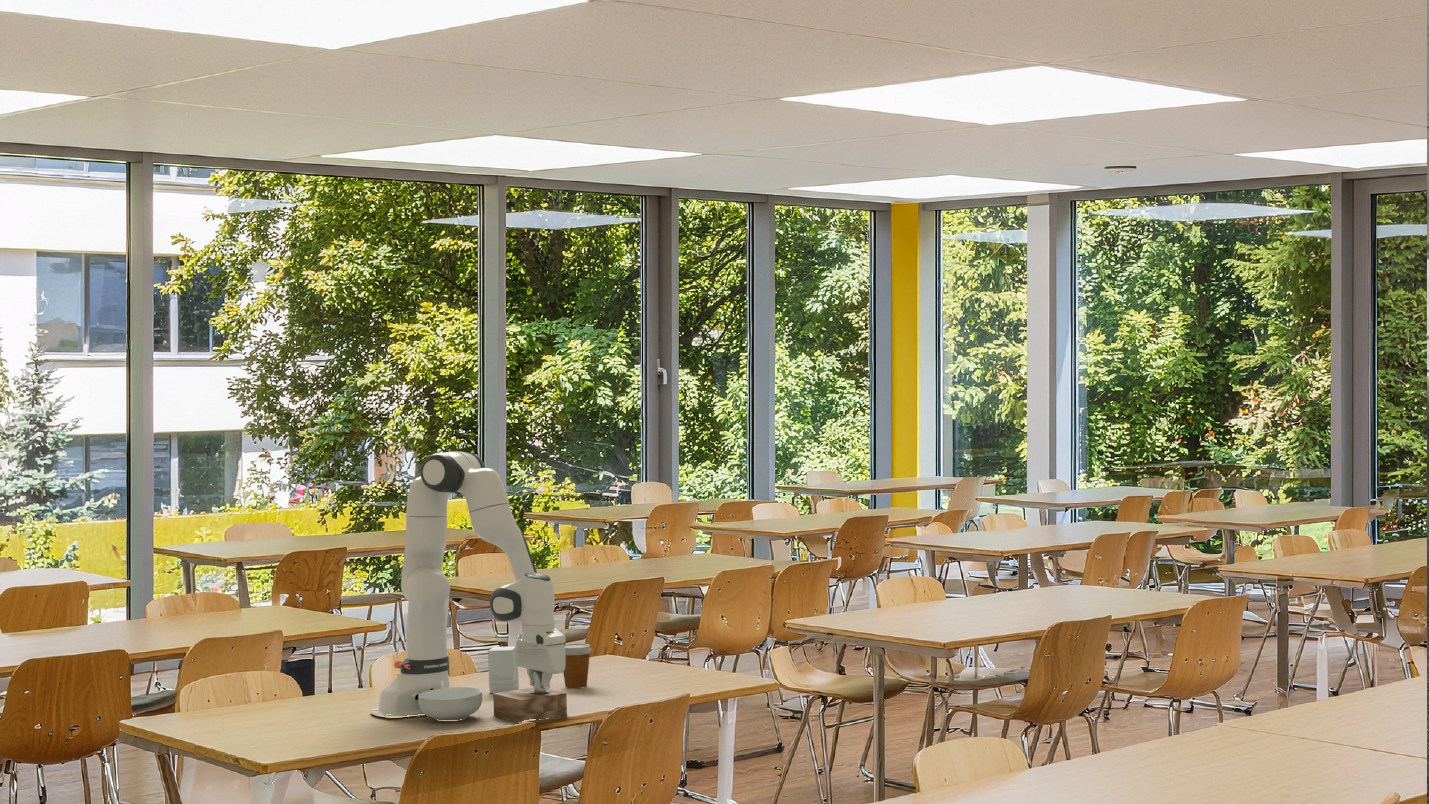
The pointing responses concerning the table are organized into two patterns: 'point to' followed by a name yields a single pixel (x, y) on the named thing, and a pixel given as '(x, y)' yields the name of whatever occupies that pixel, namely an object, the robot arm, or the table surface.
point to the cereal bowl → (450, 702)
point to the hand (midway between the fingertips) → (539, 687)
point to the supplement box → (502, 670)
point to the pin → (538, 682)
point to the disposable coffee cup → (576, 665)
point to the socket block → (529, 704)
